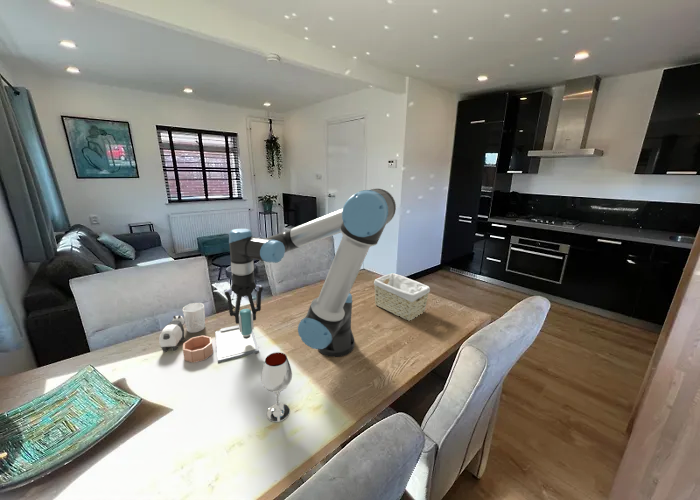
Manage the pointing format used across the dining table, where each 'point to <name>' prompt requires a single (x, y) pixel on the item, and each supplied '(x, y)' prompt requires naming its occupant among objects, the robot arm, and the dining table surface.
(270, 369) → the wineglass
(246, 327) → the teal cylinder
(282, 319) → the dining table surface
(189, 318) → the white cup
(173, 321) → the giant panda
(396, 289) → the storage basket
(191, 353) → the terracotta octagonal bowl
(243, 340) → the clipboard
